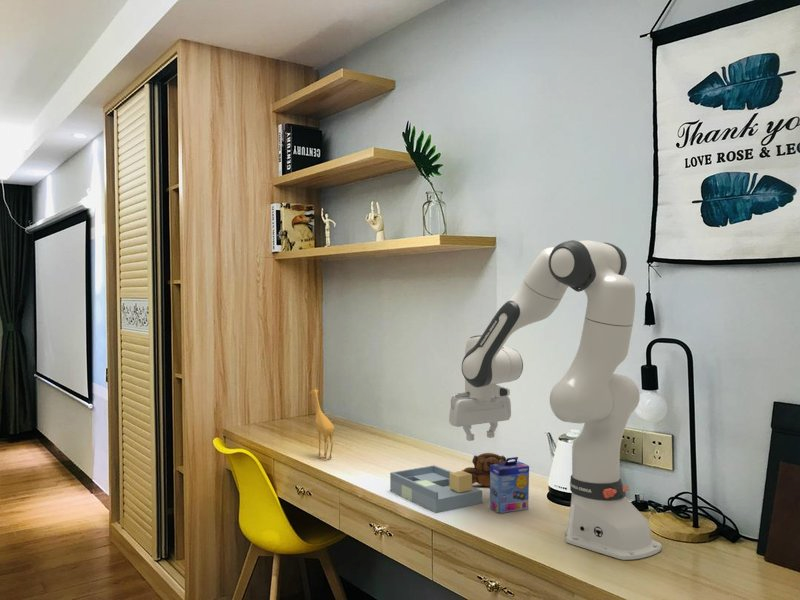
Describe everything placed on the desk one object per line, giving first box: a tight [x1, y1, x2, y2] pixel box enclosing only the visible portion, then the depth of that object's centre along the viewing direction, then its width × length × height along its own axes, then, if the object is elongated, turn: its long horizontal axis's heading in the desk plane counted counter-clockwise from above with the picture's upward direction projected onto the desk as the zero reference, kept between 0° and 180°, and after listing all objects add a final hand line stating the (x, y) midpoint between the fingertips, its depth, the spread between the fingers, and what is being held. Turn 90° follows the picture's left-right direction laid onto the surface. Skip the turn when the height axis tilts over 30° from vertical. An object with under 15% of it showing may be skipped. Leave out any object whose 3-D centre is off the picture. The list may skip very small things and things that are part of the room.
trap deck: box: [389, 464, 483, 514], centre depth 193 cm, size 24×16×6 cm, turn 32°
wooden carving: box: [461, 452, 507, 487], centre depth 204 cm, size 16×5×10 cm, turn 99°
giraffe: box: [309, 387, 336, 460], centre depth 241 cm, size 16×4×25 cm, turn 35°
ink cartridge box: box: [489, 456, 530, 514], centre depth 182 cm, size 10×6×14 cm, turn 113°
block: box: [450, 470, 473, 493], centre depth 187 cm, size 4×4×5 cm
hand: (480, 438), depth 191 cm, fingers open, 6 cm apart
